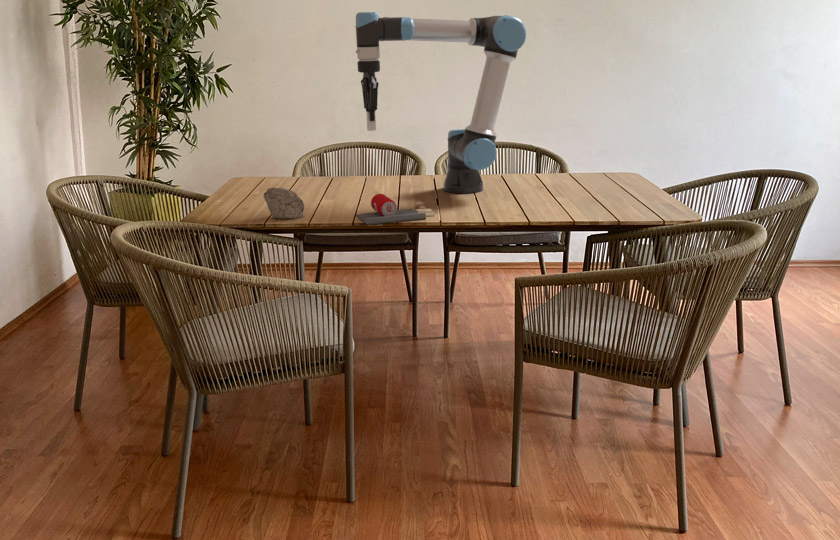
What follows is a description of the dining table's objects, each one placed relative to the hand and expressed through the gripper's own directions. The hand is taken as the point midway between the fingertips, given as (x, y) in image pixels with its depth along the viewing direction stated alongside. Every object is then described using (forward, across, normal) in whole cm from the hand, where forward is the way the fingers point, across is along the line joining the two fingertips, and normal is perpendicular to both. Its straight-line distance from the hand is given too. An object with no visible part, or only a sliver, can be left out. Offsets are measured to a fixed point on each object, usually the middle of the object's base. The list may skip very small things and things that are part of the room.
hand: (371, 130), depth 276 cm
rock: (+26, +5, -33) cm, 43 cm away
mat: (+26, +20, -1) cm, 33 cm away
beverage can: (+23, +11, -2) cm, 25 cm away
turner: (+27, +16, +12) cm, 33 cm away
